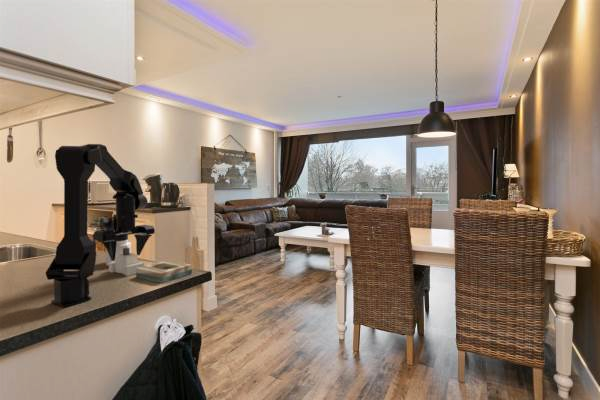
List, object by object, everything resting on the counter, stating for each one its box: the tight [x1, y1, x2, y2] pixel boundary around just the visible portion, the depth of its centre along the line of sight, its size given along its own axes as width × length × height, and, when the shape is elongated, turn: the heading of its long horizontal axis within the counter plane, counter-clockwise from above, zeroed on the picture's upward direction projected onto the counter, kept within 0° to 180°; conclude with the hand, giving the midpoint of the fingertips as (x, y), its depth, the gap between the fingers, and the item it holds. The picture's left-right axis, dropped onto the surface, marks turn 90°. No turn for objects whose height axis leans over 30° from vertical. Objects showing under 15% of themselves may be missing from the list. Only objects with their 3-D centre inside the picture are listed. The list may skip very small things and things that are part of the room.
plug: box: [115, 248, 138, 275], centre depth 110 cm, size 4×6×8 cm, turn 63°
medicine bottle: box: [105, 235, 132, 267], centre depth 121 cm, size 7×7×12 cm
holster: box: [108, 262, 145, 277], centre depth 110 cm, size 6×10×3 cm, turn 63°
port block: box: [135, 259, 193, 284], centre depth 106 cm, size 12×12×3 cm
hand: (126, 257), depth 110 cm, fingers open, 9 cm apart
